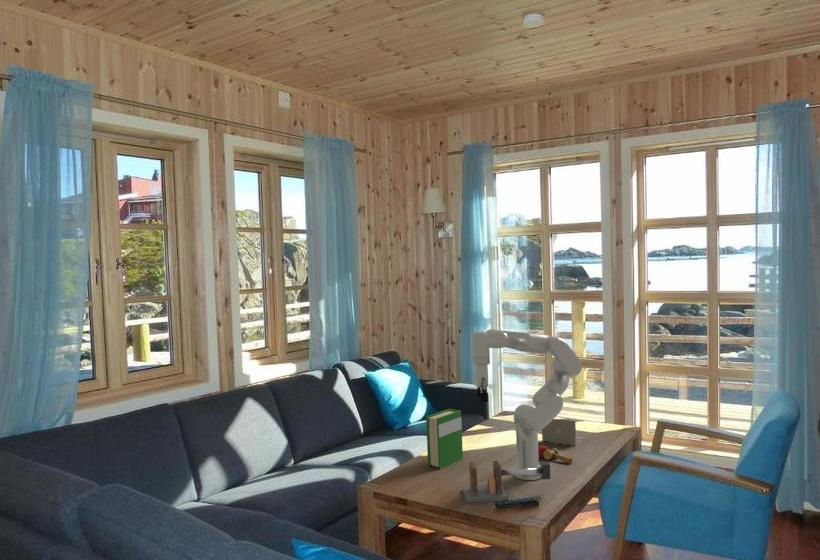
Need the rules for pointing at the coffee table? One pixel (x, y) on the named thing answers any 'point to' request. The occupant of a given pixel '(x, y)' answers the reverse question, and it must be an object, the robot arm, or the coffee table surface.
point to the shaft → (530, 471)
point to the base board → (483, 494)
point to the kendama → (552, 454)
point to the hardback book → (444, 438)
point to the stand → (496, 475)
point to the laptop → (560, 432)
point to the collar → (491, 484)
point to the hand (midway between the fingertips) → (482, 399)
